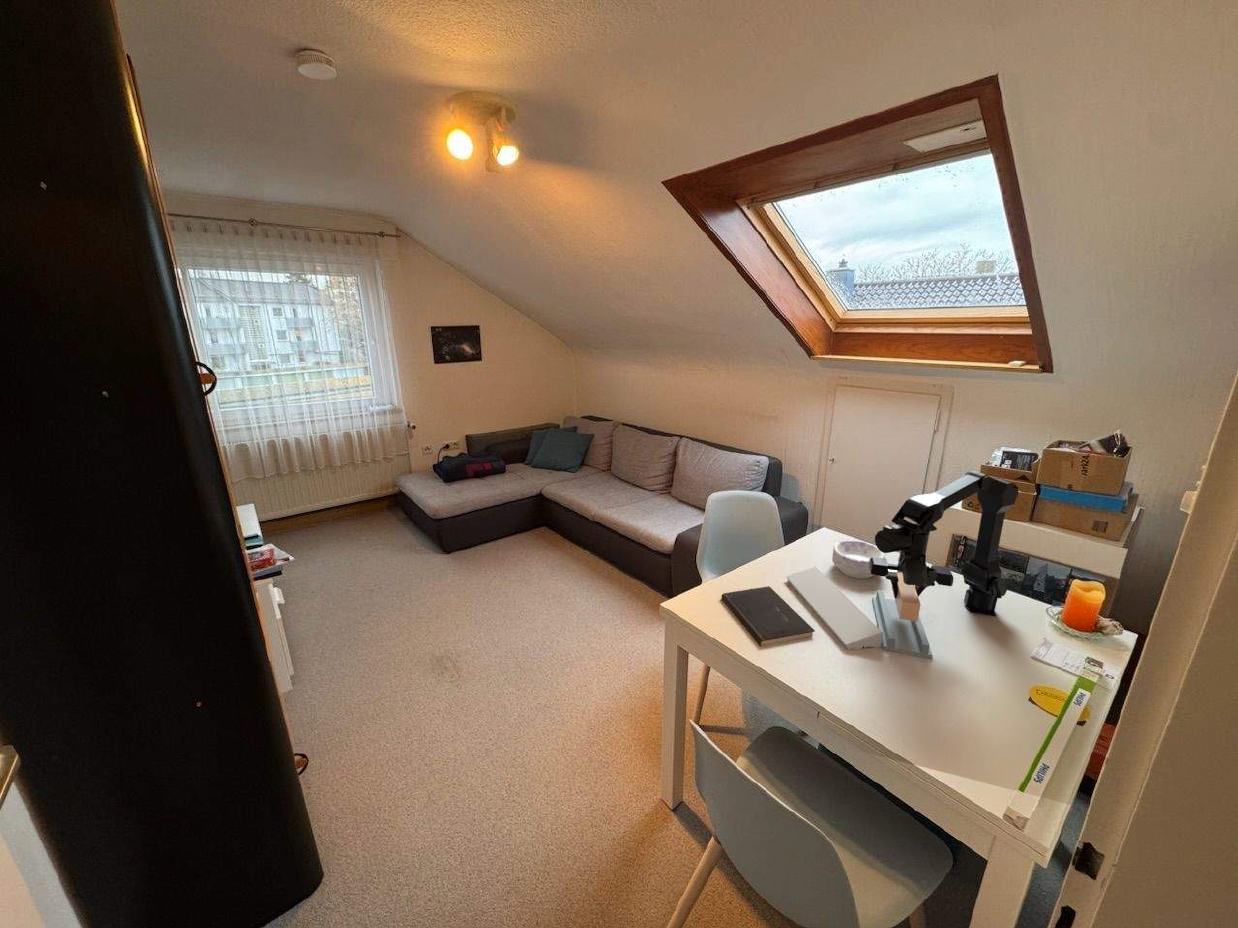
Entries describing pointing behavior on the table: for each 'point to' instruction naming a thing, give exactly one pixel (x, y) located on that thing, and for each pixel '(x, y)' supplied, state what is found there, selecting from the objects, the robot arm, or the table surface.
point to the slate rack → (899, 629)
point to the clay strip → (907, 600)
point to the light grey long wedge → (836, 610)
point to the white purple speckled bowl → (855, 557)
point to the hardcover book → (766, 615)
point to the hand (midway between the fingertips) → (904, 599)
